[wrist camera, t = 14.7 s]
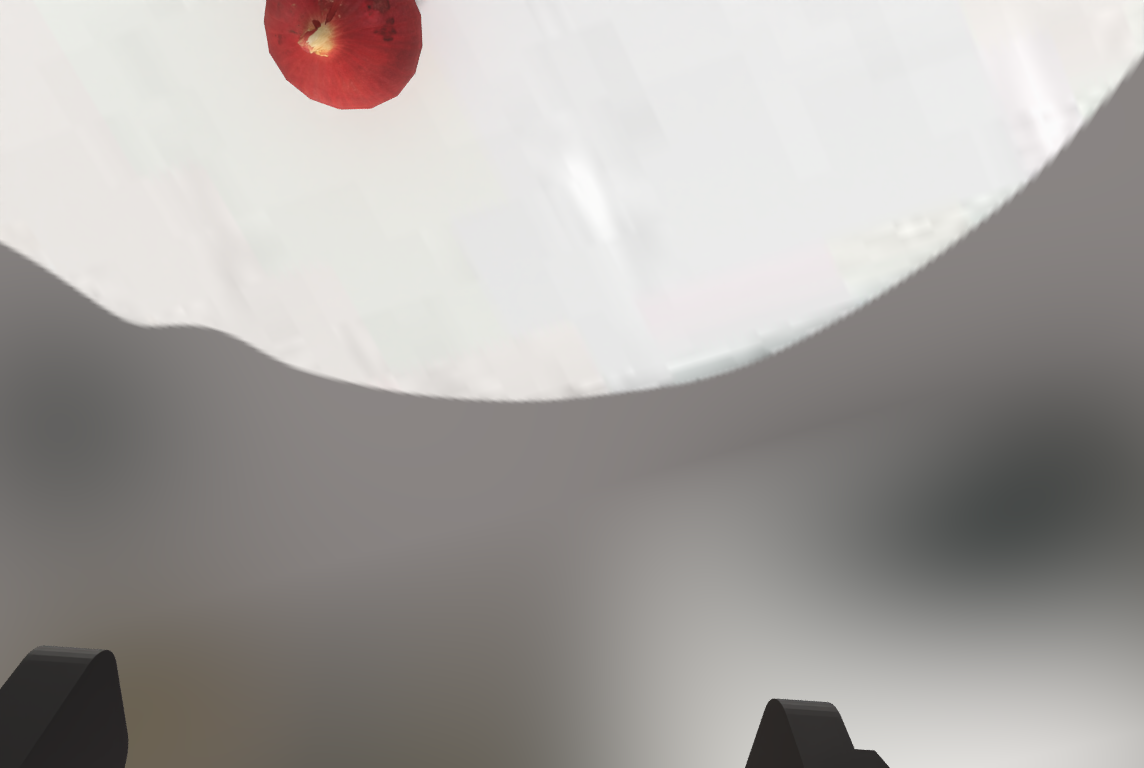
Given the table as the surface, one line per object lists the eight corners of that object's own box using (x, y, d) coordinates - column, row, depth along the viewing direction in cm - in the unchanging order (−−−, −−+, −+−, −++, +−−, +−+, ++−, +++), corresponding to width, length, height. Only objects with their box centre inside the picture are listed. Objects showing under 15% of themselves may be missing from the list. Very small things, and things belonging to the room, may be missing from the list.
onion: (311, -76, 32) (245, -96, 25) (449, -20, 33) (424, -24, 26) (283, 69, 34) (215, 90, 27) (412, 117, 35) (380, 149, 28)
